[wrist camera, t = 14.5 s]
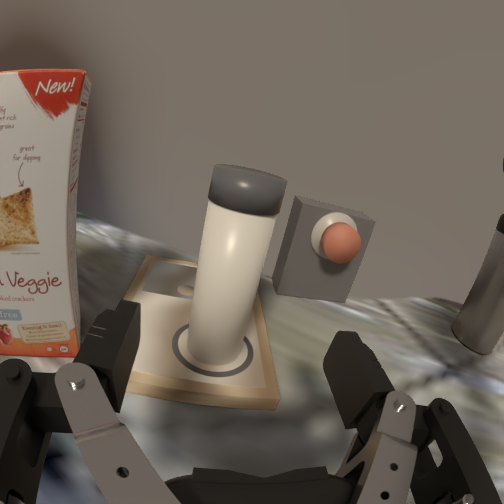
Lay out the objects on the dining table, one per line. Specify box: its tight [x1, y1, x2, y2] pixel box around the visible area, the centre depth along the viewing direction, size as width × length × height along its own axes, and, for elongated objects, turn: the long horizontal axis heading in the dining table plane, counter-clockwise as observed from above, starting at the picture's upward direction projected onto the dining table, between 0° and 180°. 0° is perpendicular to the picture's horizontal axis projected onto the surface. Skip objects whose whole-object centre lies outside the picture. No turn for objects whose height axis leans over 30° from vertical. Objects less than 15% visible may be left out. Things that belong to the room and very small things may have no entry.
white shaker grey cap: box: [187, 164, 287, 366], centre depth 20 cm, size 5×5×14 cm
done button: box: [321, 222, 361, 264], centre depth 32 cm, size 4×2×4 cm, turn 95°
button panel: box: [272, 196, 375, 303], centre depth 37 cm, size 10×4×12 cm, turn 95°
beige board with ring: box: [123, 255, 280, 410], centre depth 27 cm, size 14×20×2 cm
